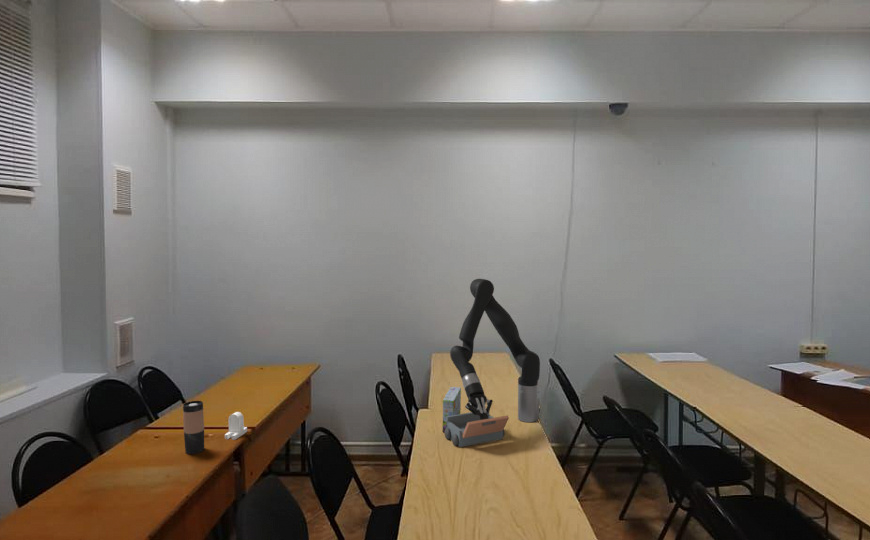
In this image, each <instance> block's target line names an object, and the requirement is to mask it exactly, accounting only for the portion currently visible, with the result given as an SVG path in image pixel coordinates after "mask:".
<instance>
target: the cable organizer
mask: <svg viewBox="0 0 870 540" xmlns="http://www.w3.org/2000/svg"><path fill="white" fill-rule="evenodd" d="M244 420H245V419H244V415H243V413H241V411H235V412H234V413H231V414H230V415H229V416H228V421H227V422H228V432H226V433H225V434H224V440H229V439H231V440H233V441H235V440H237V439H239V438H240V437H241V436H243V435H245V434H246V433H247V432H248V427H247V426H245V425H244V422H245V421H244Z"/></svg>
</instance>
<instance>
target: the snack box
mask: <svg viewBox="0 0 870 540" xmlns="http://www.w3.org/2000/svg"><path fill="white" fill-rule="evenodd" d="M461 396H462V387H460V386H459V387H456V386H450V387H449V389H448V391H447V393H446V394H445V396H444V398H443V399H442V433H444V431H445V429H446V416H452V415H458V414H461V407H462V406H461V401H462V400H461V399H462V398H461Z"/></svg>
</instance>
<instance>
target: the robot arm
mask: <svg viewBox="0 0 870 540" xmlns="http://www.w3.org/2000/svg"><path fill="white" fill-rule="evenodd" d="M469 290H470V294H471V295H472V296H473V298H474V299H473V304H472V307H471V309H470V311H469V312H468V314H467V315H466V317H465V318H464V320H463V323H462V326H461V329H460V331H459V336H458V339H459V340H460V341H462V346H461V345H454V346H452V347H451V348H450V352H449V353H450V354H449V356H450V359H451V361H452V363H453V365H454V366H455V368H456V370H457V371H458V372H459V376H460V378H461V382H462V386H463V389H464V391H465V395H466V397H467V399H468V400H467V403H466V404H465V406H464V407H465V408H466V409H467V410H468V411H469V413H470V412H472V413H473V414H474V415H479V416H480V419H481V420H483V419H488V416H487V413H488V412H489V413H490V410H491V409H492V405H493V402H494V401H493V399H488V397H487V396H486V394H485V391H484V388H483V386H482V383H481V380H480V378H479V376H478V374H477V372H476V369H475V366H474V365H473V364H472V362H470V361H471V360H472V357H473V356H474V355H473V354H474V342H475V338H476V334H477V332H478V328H479V325H480V323H481V320H482V318H483V316H484V313H485V314H486V315H487V317H488V319H489V321H490V323H491V325H493V328H494V329H495V331H496V332H497V334H498V335H499V336H500V338H501V340H503V342H504V343H505V345H506V346H507V347H508V349H509V351H510V352H511V355H512V357H513V359H514V361H515V362H516V365H518V367H519V368H521V375H520V376H519V377H518V378H517V419H518V420H519V421H521V422H524V423H534V422H537V421H538V420H540V399H538V393H539V392H538V389H539V388H538V385H539V384H538V383H539V379H540V375H541V374H540V371H541V369H540V368H541V360H540V357H539V355H538V354H537V353H536V352H534V351H531V350H530V349H529V348H528V347H527V346H526V344H525V343H524V342H523V340H522V339H521V336H520V332H519V330H518V327H517V325H516V323H515V321H514V320H513V318H512V316H511V315H510V313H509V312H508V311H507V310H506V309H505V308H504V307H503V306H502V305H501V304H499V302H498V301H497V300H496V299H495V297H494V295H493V294H494V291H495V286H494V284H493V282H492V281H491V280H489V279H485V278H475V279H473V280H472V281H471V282H470V285H469Z"/></svg>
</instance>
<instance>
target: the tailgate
mask: <svg viewBox="0 0 870 540" xmlns="http://www.w3.org/2000/svg"><path fill="white" fill-rule="evenodd" d="M509 418H510V416H509V415H502V416H497V417H494V418H489V419H483V420H478V421H472V422H468V423H467V425H466V428H465V430H464V432H463V435H462V436H463V438H466V437H472V436H477V435H483V434H488V433H493V432H499V431H503V429H504V430H505V427H506V424H507V423H508V421H509Z"/></svg>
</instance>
